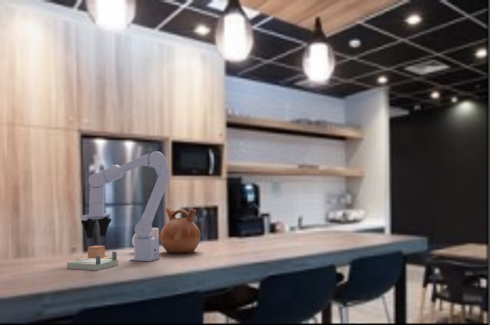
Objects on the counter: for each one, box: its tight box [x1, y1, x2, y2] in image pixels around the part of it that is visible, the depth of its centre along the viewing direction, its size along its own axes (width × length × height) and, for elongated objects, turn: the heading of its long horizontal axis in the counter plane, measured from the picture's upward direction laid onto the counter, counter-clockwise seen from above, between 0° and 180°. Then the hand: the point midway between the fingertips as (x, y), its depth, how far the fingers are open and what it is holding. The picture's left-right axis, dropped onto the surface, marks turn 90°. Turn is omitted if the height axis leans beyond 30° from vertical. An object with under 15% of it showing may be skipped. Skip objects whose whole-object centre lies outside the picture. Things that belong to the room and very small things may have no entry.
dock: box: [66, 251, 119, 271], centre depth 155 cm, size 14×11×5 cm
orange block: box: [87, 245, 106, 258], centre depth 167 cm, size 5×5×4 cm
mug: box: [131, 227, 159, 247], centre depth 192 cm, size 12×8×10 cm
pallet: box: [75, 255, 112, 261], centre depth 167 cm, size 12×9×1 cm
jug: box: [159, 207, 201, 255], centre depth 188 cm, size 18×18×20 cm
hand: (96, 237), depth 167 cm, fingers open, 7 cm apart
